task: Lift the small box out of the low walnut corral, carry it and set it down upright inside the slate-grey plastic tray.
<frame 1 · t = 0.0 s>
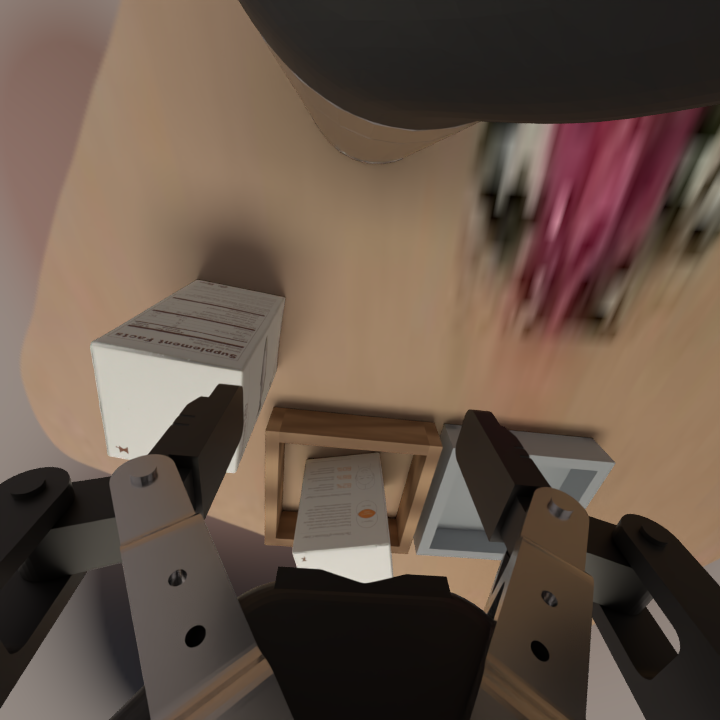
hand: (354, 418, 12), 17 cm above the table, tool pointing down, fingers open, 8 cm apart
supplement box: (240, 326, 29), on the table
small box: (346, 471, 37), resting in corral
tray: (494, 486, 38), on the table
corral: (346, 473, 37), on the table
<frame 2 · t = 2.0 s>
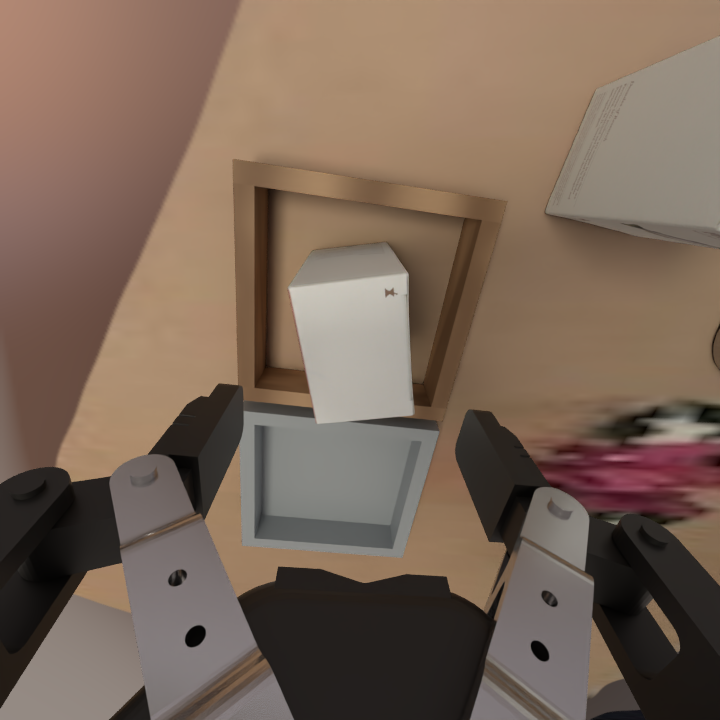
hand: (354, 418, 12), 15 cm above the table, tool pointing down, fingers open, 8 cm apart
supplement box: (613, 169, 23), on the table
small box: (355, 298, 26), resting in corral
tray: (333, 465, 33), on the table
corral: (355, 298, 26), on the table
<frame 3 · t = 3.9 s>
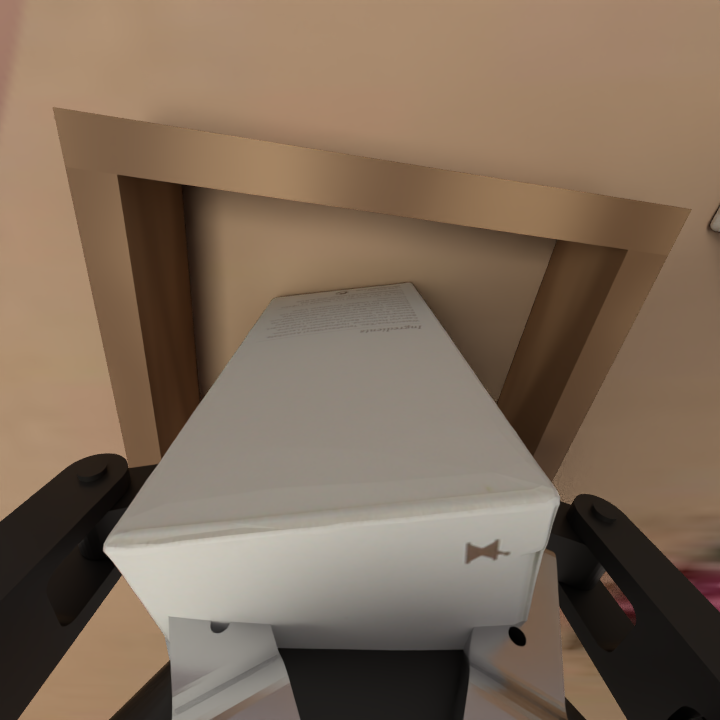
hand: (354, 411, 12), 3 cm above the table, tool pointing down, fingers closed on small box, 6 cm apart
small box: (354, 373, 15), resting in corral, touching gripper
corral: (354, 376, 15), on the table
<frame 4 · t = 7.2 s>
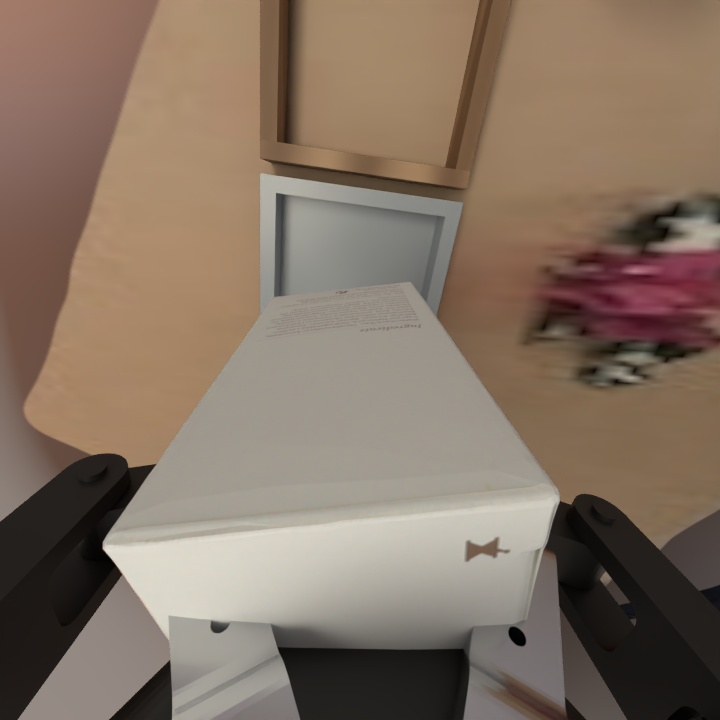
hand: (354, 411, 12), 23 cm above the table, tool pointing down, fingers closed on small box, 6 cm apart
small box: (354, 373, 15), point 20 cm above the table, touching gripper
tray: (352, 280, 33), on the table
corral: (378, 57, 26), on the table
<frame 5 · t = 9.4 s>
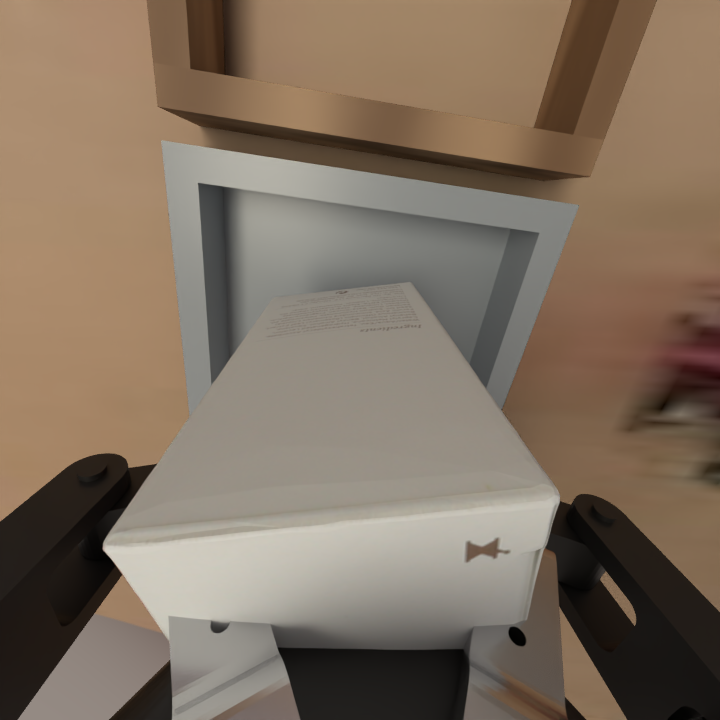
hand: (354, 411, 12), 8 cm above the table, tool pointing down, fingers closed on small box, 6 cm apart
small box: (354, 373, 15), point 5 cm above the table, touching gripper
tray: (353, 335, 19), on the table
when the fingers open (6 cm above the table, at t = 10.8 s): small box drops 2 cm, resting on tray.
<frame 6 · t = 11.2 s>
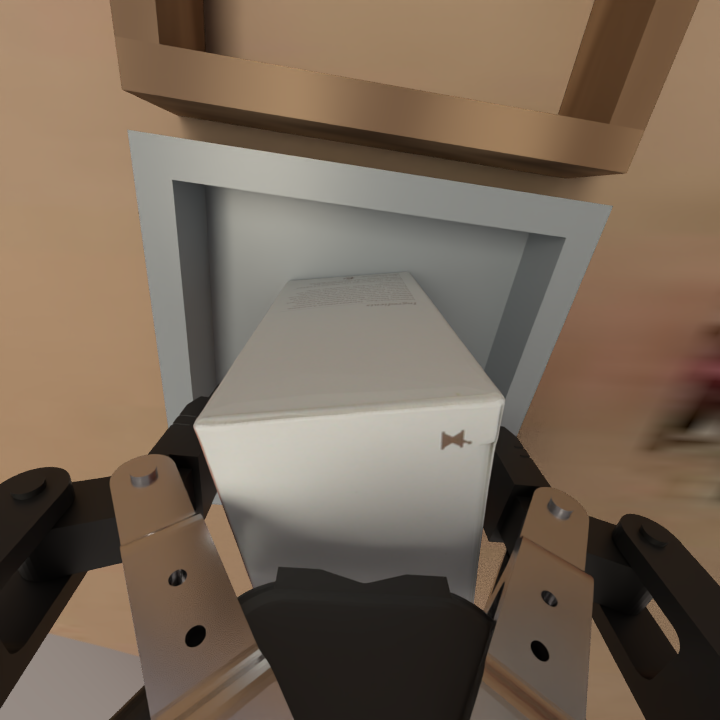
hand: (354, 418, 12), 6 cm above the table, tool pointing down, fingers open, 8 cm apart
small box: (355, 352, 17), point 1 cm above the table, touching tray
tray: (353, 349, 18), on the table
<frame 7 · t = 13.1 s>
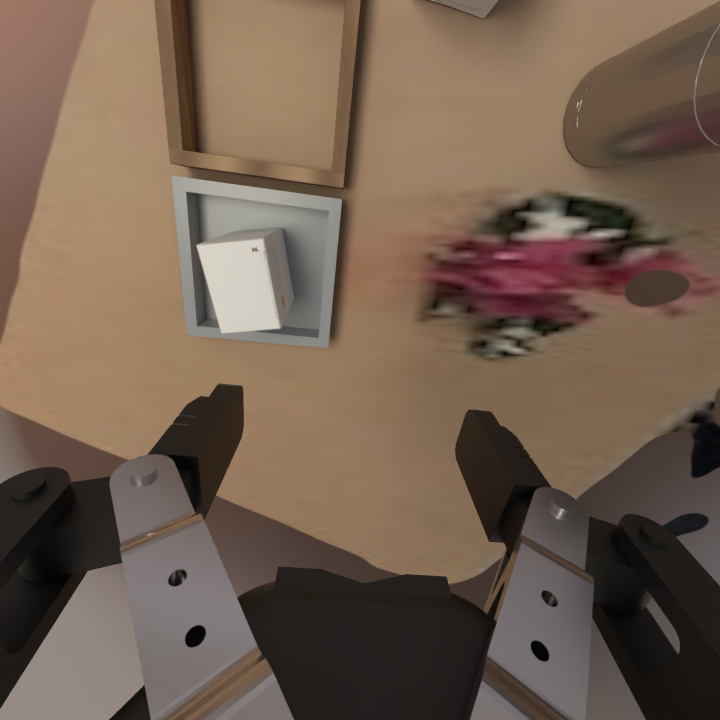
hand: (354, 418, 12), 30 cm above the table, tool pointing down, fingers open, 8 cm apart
small box: (265, 266, 38), point 1 cm above the table, touching tray
tray: (265, 266, 39), on the table
corral: (266, 82, 32), on the table
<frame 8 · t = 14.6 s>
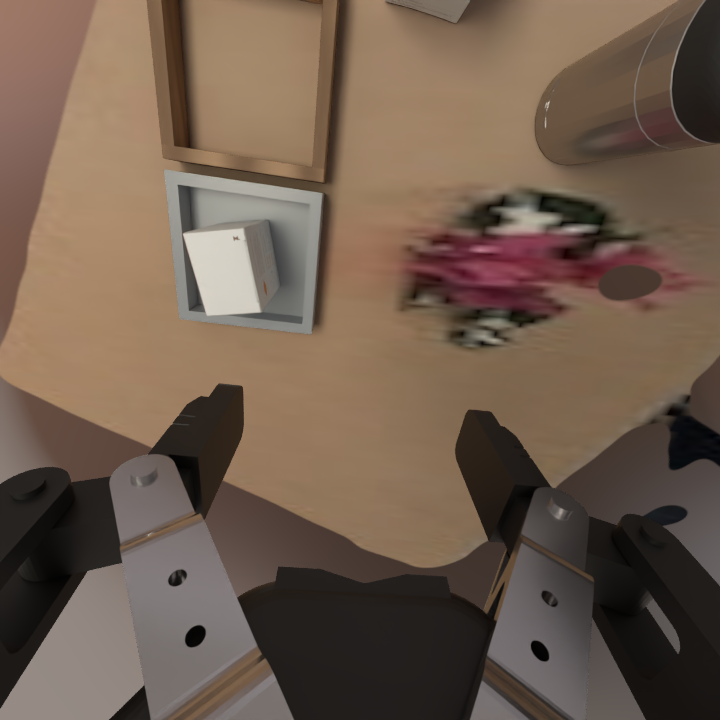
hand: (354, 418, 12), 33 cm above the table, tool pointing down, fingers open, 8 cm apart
small box: (253, 256, 41), point 1 cm above the table, touching tray
tray: (253, 255, 41), on the table
corral: (253, 82, 34), on the table
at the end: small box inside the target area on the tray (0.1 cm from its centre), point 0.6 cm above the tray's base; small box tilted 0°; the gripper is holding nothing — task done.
